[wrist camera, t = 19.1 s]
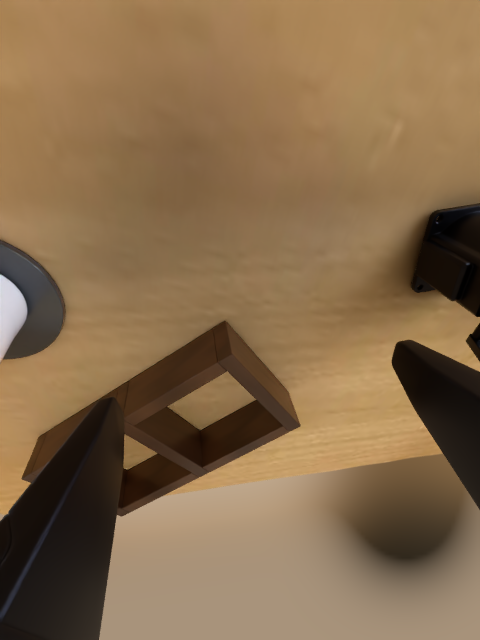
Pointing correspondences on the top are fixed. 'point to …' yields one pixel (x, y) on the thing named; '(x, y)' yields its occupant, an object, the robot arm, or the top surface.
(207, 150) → the top surface
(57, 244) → the top surface
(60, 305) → the coaster
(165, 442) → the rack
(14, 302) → the white tumbler
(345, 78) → the top surface
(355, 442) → the top surface
